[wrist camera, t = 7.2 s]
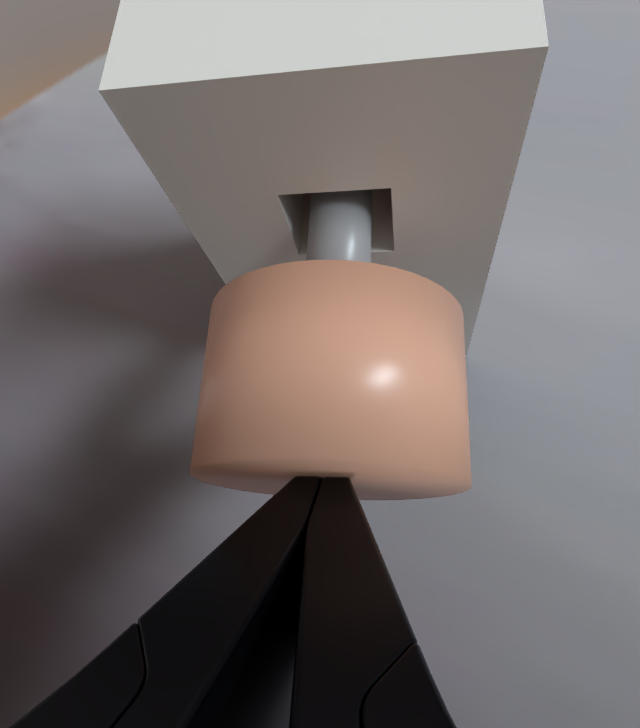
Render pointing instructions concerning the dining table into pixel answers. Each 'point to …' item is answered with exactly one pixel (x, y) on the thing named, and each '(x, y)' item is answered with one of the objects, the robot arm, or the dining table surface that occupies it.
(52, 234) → the dining table surface
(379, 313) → the terracotta button
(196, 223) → the white tall block
